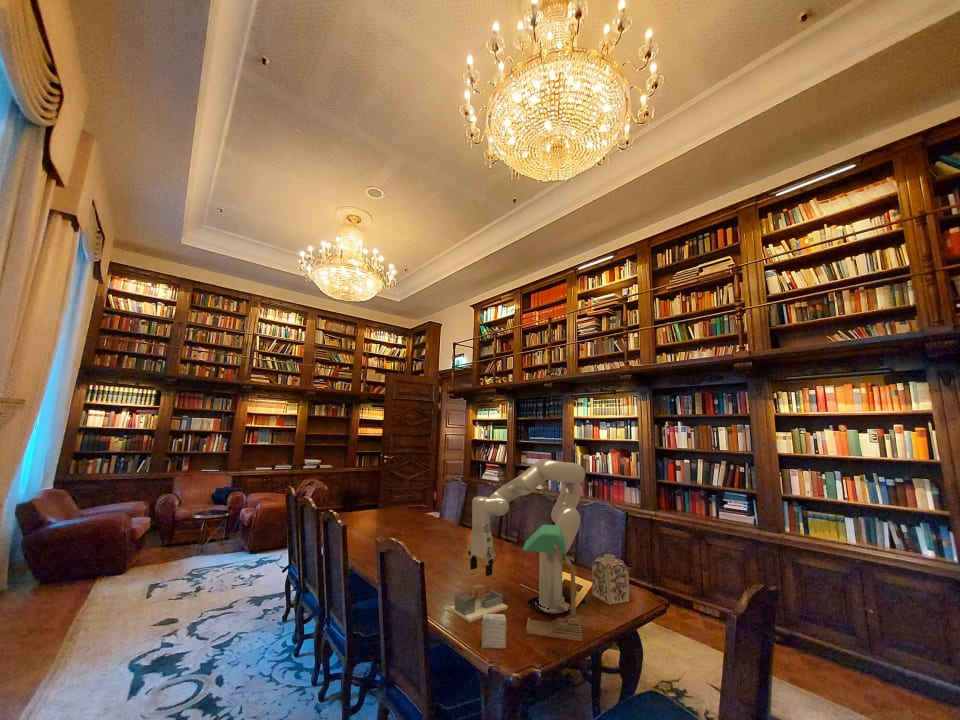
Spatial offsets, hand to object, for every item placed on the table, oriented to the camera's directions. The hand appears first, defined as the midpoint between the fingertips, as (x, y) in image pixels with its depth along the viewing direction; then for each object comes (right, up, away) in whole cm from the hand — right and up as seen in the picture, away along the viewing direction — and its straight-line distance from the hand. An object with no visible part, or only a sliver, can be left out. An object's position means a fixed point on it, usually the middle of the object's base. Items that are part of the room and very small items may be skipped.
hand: (481, 572), depth 155 cm
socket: (-7, -11, -7) cm, 15 cm away
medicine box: (+4, -8, -30) cm, 31 cm away
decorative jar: (+58, -20, +13) cm, 63 cm away
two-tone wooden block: (-4, -12, -5) cm, 13 cm away
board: (-1, -14, -3) cm, 14 cm away
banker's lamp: (+26, -11, -19) cm, 34 cm away
